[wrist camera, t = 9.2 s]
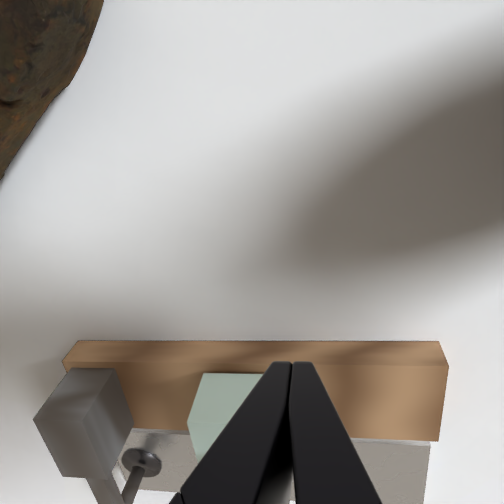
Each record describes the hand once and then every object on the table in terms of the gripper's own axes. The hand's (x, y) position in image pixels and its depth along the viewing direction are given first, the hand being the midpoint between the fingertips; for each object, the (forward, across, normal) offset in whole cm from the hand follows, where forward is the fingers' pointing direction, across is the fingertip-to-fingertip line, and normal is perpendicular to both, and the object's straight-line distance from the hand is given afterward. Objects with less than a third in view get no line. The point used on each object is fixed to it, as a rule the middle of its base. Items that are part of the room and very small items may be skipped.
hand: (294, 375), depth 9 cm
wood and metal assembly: (+13, +4, +17) cm, 22 cm away
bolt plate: (+13, +4, +22) cm, 26 cm away
